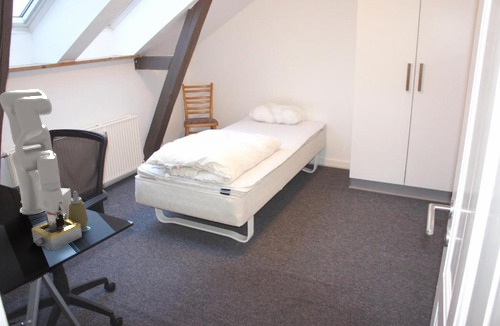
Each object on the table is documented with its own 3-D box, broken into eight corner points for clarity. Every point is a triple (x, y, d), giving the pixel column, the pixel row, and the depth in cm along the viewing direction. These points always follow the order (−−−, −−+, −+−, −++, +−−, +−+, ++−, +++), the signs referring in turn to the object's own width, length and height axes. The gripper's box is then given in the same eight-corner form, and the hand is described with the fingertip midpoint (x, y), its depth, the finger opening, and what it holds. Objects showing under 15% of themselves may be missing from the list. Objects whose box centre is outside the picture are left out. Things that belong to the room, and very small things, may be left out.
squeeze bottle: (82, 232, 177) (77, 195, 171) (66, 230, 178) (61, 193, 173) (92, 224, 184) (88, 188, 179) (76, 222, 186) (72, 187, 180)
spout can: (46, 228, 168) (43, 211, 165) (62, 221, 174) (60, 205, 171) (54, 231, 165) (51, 214, 163) (70, 225, 171) (68, 208, 169)
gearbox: (29, 244, 166) (26, 230, 164) (63, 229, 179) (61, 216, 177) (48, 252, 160) (45, 238, 158) (81, 236, 173) (80, 223, 171)
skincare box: (61, 217, 191) (57, 187, 186) (75, 218, 190) (71, 188, 186) (52, 225, 183) (48, 194, 178) (67, 225, 182) (62, 194, 178)
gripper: (29, 183, 164) (35, 222, 169) (54, 192, 155) (60, 233, 161) (46, 178, 170) (51, 216, 175) (71, 186, 162) (76, 226, 167)
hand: (55, 224), depth 168 cm, fingers closed on spout can, 5 cm apart
